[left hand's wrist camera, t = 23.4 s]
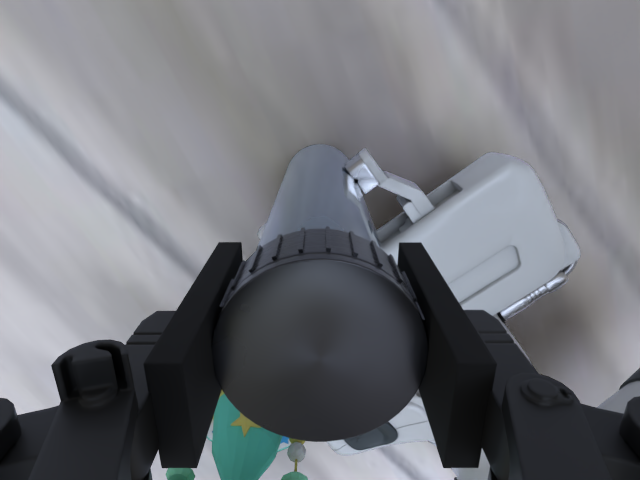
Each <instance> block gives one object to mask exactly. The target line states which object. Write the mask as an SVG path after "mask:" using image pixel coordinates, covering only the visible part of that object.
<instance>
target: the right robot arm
mask: <svg viewBox="0 0 640 480" xmlns="http://www.w3.org/2000/svg"><path fill="white" fill-rule="evenodd" d="M344 165H345V168H346V169H347V171H348V172H349V174H350V175H351V176H352V177H353V178H354V179H356V180H357V183H358V185H359V187H360V188H361V190H362V191H363V192H364V194H366V193H368V192H369V191H371V190H372V189H374V188H375V187H376V186H378V187H381V188H383V189H385V190H388V191H390V192H392V193H395V194H397V195H398V196H397V198H396V199H397V200H398V202H399V203H400V205H401V206H402V208H403V209H404V211H403V212H402V213H400V214H399V215H398V216H396V217H395V218H393V219H392V220H391V221H389V222H388V223H386V224H385V225H383V226H382V227H381V228H379V229H378V230H376V231H377V234H378V236H379V239H380V242H381V244H382V247H383V250H384V252H385V253H386V254H388V255H390V254H391V255H392V256H393V257H394V260H395V262H396V264H398V249H399V242H421V243H422V244H423V246H424V248H425V249H426V251H427V252H428V254H429V256H430V257H431V259H432V260H433V262H434V264H435V265H436V267H437V268H438V270H439V272H440V273H441V275H442V276H443V278H444V280H445V281H446V283H447V284H448V286H449V288H450V289H451V291H452V292H453V294H454V296H455V297H456V299H457V300H458V302H459V304H460V305H461V307H462V308H463V310H484V311H486V312H487V313H489V314H490V315H492V316H493V317H495V318H496V319H498V320H499V321H500V323H501V324H502V325H503V327H504V328H505V329H506V331H507V334H509V335H510V336H511V337H512V339H513V340H514V343H516V344H517V345H518V347H519V348H520V350H521V351H522V352H523V354H524V355H525V356H526V358H527V359H528V360H529V362H530V363H531V361H530V359H529V358H528V356H527V355H526V353H525V352H524V350H523V349H522V347H521V346H520V345H519V343H518V342H517V340H516V339H515V338H514V336H513V335H512V334H511V332H510V331H509V329H508V328H507V327H506V325H505V324H504V323H505V322H504V321H506V320H507V319H509V318H511V317H513V316H514V315H516V314H517V313H519V312H521V311H522V310H524V309H526V308H527V307H529V306H530V304H533V303H534V301H536V300H538V299H539V298H541V296H544V295H546V294H548V293H552V292H554V291H556V290H558V289H559V288H561V287H562V286H563V285H564V284H565V283H567V282H568V278H567V275H568V274H569V273H570V272H571V271H572V270H573V269H574V267H575V266H576V264H577V262H578V259H579V258H580V248H579V246H578V243H577V242H576V240H575V238H574V237H573V235H572V233H571V232H570V230H569V228H568V227H567V225H566V224H565V223H563V222H562V221H561V220H559V219H557V218H556V215H555V213H554V210H553V208H552V205H551V203H550V201H549V198H548V196H547V194H546V192H545V190H544V187H543V185H542V183H541V181H540V180H539V178H538V176H537V174H536V172H535V171H534V169H533V168H532V167H531V166H530V165H529V164H528V163H526V162H525V161H523V160H521V159H519V158H517V157H514V156H511V155H507V154H502V153H496V152H489V153H486V154H484V155H483V156H481V157H480V158H478V159H477V160H476V161H474V162H473V163H471V164H470V165H469V166H467V167H466V168H464V169H463V170H461V171H460V172H459V173H457V174H456V175H454V176H453V177H452V178H450V179H449V180H447V181H446V182H444V183H443V184H442V185H440V186H439V187H437V188H436V189H435V190H433V191H432V192H430V193H429V194H427V195H425V194H424V192H423V191H422V190H421V189H420V188H419V187H418V186H417V185H416V184H415V183H414V182H412V181H409V180H407V179H404V178H402V177H399V176H397V175H395V174H392V173H390V172H387V171H382V170H381V168H380V167H379V166H378V164H377V163H376V162H375V160H374V159H373V157H372V156H371V155H370V153H369V152H368V151H367V149H366V148H364V149H363V150H361V151H360V152H359V153H357V154H356V155H355V156H354V157H352V158H351V159H350V160H349V161H347V162H346V163H345V164H344ZM265 226H266V223H265V224H264V225H263V226H262V227H261V228H260V229H259V231H258V234H257V235H258V238H259V239H261V236H262V234H263V231H264V228H265ZM562 269H563V270H562ZM531 364H532V363H531ZM532 366H533V365H532ZM639 396H640V368H639V369H638V370H637V371H636V372H635V373H634V374H633V375H632V376H631V377H630V378H629V379H627V380H626V381H625V382H624V383H623V384H622V385H621V387H620V389H619V391H617V392H616V393H615V394H614V395H612V396H611V397H610V398H608V399H607V400H606V401H604V402H603V403H602V404H600V405H599V406H598V407H597V408H600V409H605V410H609V411H614V412H618V413H623V414H624V411H625V408H626V405H627V402H628V401H630V400H631V399H632V398H633V397H639ZM419 441H429V442H430V443H432V444H434V445H435V446H436V443H435V440H434V437H433V433H432V430H431V427H430V424H429V421H428V418H427V415H426V411H425V408H424V405H423V402H422V399H421V396H420V393H419V389H418V390H417V392H416V394H415V396H414V397H413V398H412V399H411V401H410V402H409V403H408V405H407V406H406V407H405V408H404V409H403V410H402V411H401V412H400V413H399V414H397V415H396V416H395V417H393V418H392V419H391V420H390V421H388V422H387V423H385V424H383V425H382V426H380V427H378V428H376V429H374V430H372V431H370V432H367V433H365V434H362V435H359V436H356V437H352V438H348V439H343V440H336V441H327V443H328V445H329V446H330V447H331V448H332V449H333V450H334V451H335V452H336V453H338V454H340V455H345V456H347V455H353V454H357V453H361V452H365V451H369V450H373V449H377V448H381V447H385V446H390V445H395V444H401V443H408V442H419ZM451 469H452V470H453V472H454V473H455V474H456V476H457V477H455V478H454V480H488V474H489V469H490V464H489V462H488V460H487V458H486V455H485V453H484V451H483V449H482V451H481V456H480V462H479V467H478V468H451Z"/></svg>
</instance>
